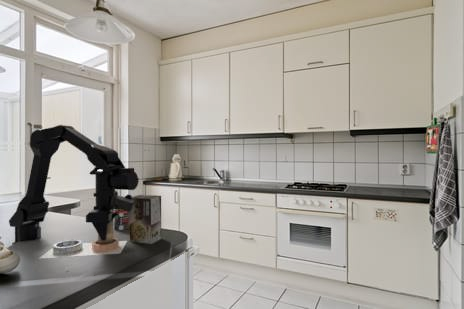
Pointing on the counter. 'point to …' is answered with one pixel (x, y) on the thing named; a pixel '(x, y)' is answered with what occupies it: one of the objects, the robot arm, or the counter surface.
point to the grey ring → (67, 247)
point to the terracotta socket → (105, 246)
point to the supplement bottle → (121, 220)
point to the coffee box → (145, 219)
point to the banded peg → (109, 235)
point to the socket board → (85, 251)
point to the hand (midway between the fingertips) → (105, 237)
